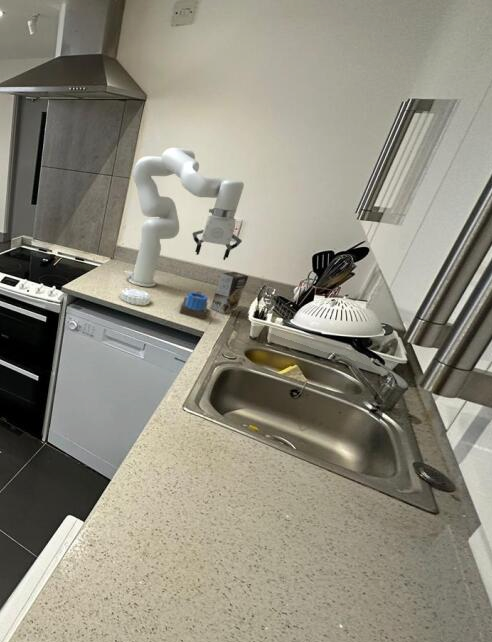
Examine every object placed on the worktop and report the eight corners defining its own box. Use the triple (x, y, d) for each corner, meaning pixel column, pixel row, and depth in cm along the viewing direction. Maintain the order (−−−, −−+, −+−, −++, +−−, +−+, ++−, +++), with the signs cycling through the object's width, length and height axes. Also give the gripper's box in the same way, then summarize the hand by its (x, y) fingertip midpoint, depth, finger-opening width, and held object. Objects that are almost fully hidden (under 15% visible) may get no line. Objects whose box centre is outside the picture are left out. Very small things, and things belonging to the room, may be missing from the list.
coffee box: (223, 314, 164) (236, 277, 157) (209, 308, 169) (221, 272, 163) (236, 311, 168) (249, 275, 162) (222, 305, 173) (234, 270, 167)
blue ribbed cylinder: (184, 307, 159) (187, 296, 157) (185, 301, 165) (189, 291, 163) (203, 312, 156) (207, 300, 154) (204, 306, 162) (208, 295, 160)
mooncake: (150, 299, 173) (152, 291, 172) (147, 307, 163) (149, 300, 162) (122, 292, 178) (124, 285, 177) (118, 300, 168) (119, 293, 167)
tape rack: (179, 312, 161) (184, 296, 158) (182, 303, 172) (187, 287, 169) (203, 319, 157) (209, 302, 154) (205, 308, 168) (211, 292, 165)
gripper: (197, 211, 152) (186, 254, 159) (249, 218, 144) (234, 263, 150) (200, 209, 158) (188, 250, 165) (249, 216, 149) (235, 259, 156)
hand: (210, 256), depth 157 cm, fingers open, 9 cm apart
